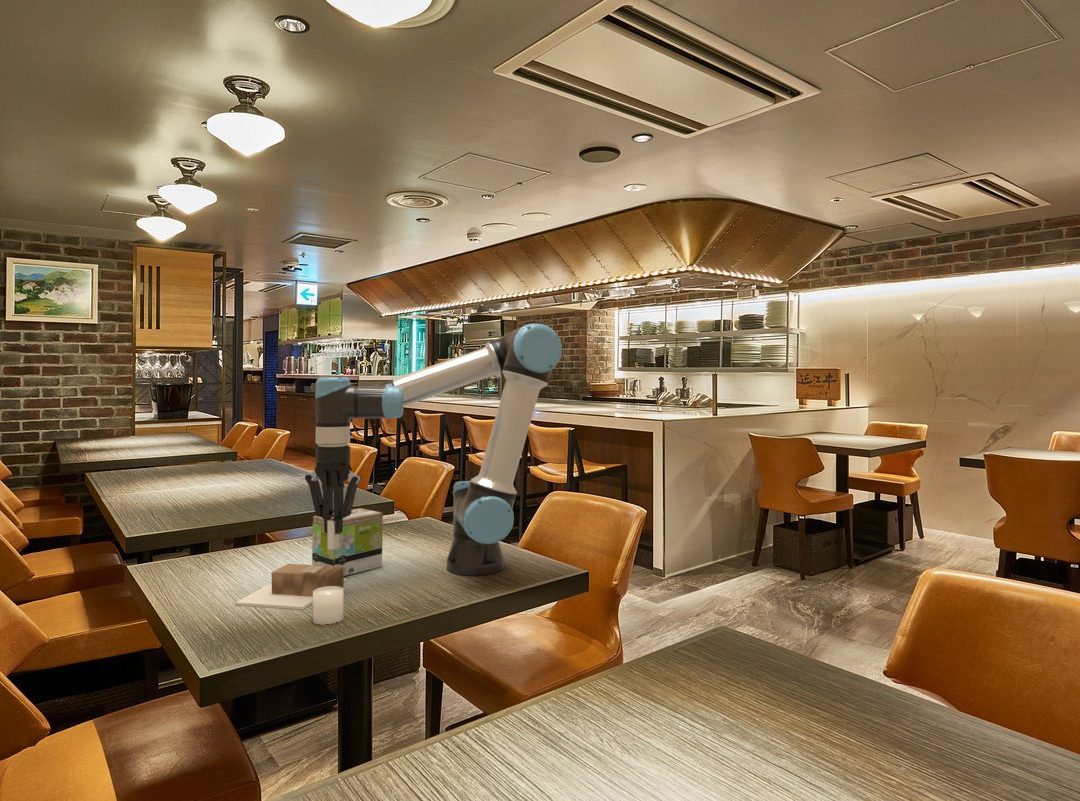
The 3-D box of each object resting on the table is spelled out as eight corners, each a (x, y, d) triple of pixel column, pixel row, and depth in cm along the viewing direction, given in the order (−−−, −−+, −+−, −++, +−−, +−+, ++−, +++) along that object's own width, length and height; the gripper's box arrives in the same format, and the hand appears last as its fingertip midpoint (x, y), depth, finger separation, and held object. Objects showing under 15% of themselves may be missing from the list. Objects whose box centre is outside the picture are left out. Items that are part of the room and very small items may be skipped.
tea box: (335, 580, 159) (334, 521, 159) (311, 573, 166) (310, 515, 165) (383, 566, 171) (383, 511, 171) (359, 560, 177) (359, 506, 177)
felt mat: (346, 581, 159) (346, 578, 159) (303, 609, 139) (302, 607, 139) (286, 577, 162) (286, 575, 162) (235, 605, 142) (235, 602, 142)
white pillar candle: (348, 615, 136) (348, 586, 136) (334, 625, 130) (334, 596, 130) (322, 613, 137) (322, 585, 137) (307, 623, 131) (307, 594, 131)
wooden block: (343, 566, 152) (288, 563, 154) (328, 574, 145) (271, 571, 147) (343, 587, 152) (288, 584, 154) (329, 597, 145) (271, 594, 148)
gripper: (367, 443, 150) (367, 544, 151) (315, 442, 152) (315, 542, 153) (352, 447, 143) (352, 553, 144) (297, 445, 145) (298, 550, 146)
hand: (333, 547), depth 148 cm, fingers closed
